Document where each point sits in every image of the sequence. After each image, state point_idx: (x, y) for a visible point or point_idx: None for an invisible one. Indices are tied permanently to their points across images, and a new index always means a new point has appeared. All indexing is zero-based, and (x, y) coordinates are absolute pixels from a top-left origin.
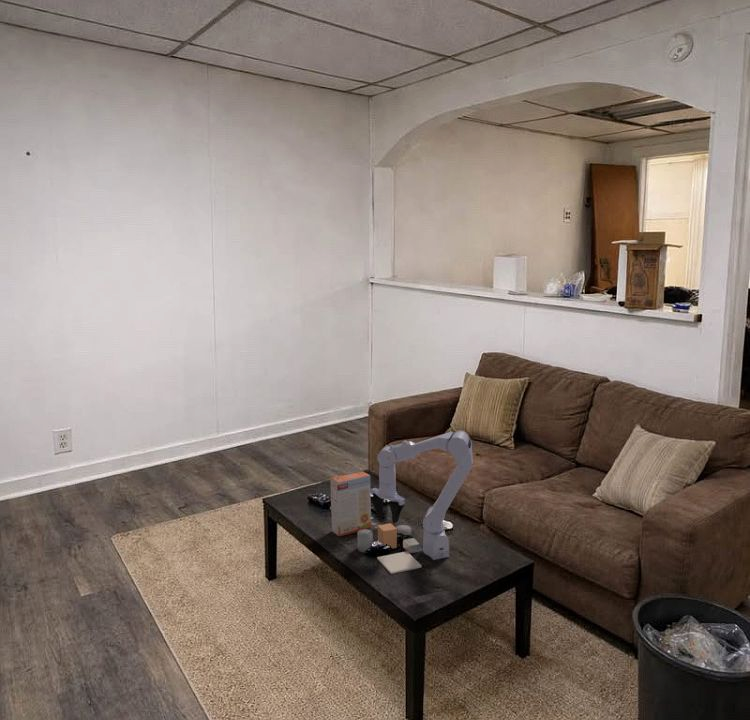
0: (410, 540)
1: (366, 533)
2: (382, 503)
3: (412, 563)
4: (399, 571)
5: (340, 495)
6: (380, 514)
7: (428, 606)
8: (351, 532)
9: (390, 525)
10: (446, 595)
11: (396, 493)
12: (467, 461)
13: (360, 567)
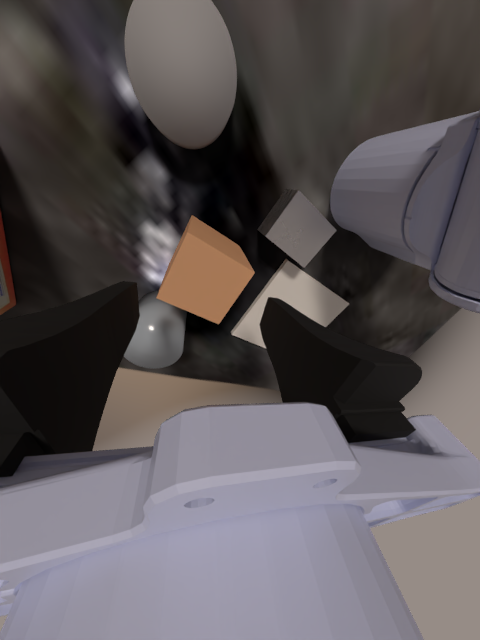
0: (294, 223)
1: (162, 349)
2: (91, 326)
3: (325, 308)
4: None
5: None
6: (134, 302)
7: None
8: (6, 255)
9: (206, 260)
10: (403, 349)
11: (373, 498)
12: None
13: (222, 372)
